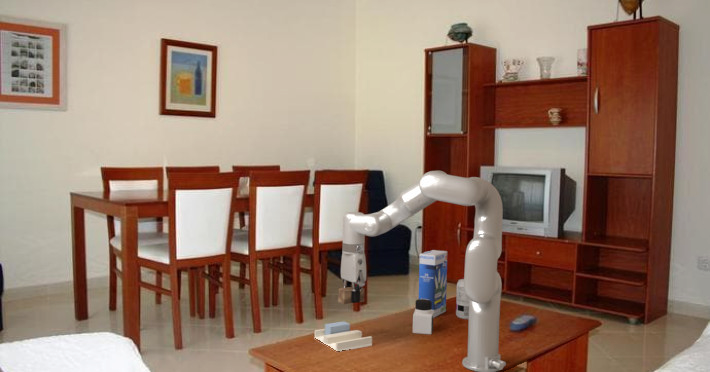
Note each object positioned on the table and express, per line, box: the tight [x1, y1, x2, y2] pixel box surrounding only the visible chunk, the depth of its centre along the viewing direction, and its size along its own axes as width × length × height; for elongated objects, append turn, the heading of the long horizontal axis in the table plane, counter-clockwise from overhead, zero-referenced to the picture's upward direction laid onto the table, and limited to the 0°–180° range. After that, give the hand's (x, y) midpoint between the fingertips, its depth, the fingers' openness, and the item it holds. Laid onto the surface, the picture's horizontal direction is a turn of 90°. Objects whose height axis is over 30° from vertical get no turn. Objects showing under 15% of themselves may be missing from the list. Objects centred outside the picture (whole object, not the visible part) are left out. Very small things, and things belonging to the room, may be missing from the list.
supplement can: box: [455, 278, 470, 320], centre depth 244 cm, size 8×8×15 cm
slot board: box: [314, 328, 373, 352], centre depth 209 cm, size 16×14×3 cm
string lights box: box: [418, 249, 448, 319], centre depth 248 cm, size 13×8×26 cm, turn 149°
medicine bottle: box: [412, 298, 434, 335], centre depth 223 cm, size 7×7×12 cm
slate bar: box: [324, 321, 351, 335], centre depth 213 cm, size 4×8×4 cm, turn 122°
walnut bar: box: [337, 287, 365, 305], centre depth 204 cm, size 4×8×4 cm, turn 122°
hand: (351, 300), depth 204 cm, fingers closed on walnut bar, 4 cm apart
